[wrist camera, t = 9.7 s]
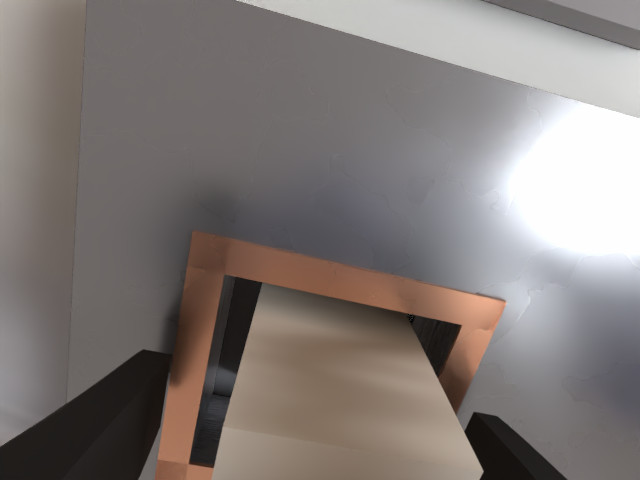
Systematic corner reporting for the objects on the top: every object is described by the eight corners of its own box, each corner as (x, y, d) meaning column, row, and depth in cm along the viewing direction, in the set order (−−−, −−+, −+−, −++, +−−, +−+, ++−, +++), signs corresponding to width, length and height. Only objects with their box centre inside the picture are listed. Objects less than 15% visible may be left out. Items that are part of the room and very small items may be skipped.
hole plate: (732, 167, 10) (865, 183, 8) (505, 552, 15) (544, 637, 13) (148, 0, 9) (85, -45, 6) (101, 492, 13) (55, 577, 11)
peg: (396, 293, 11) (483, 471, 6) (359, 398, 13) (402, 630, 7) (267, 265, 11) (222, 426, 5) (242, 376, 12) (184, 605, 6)
